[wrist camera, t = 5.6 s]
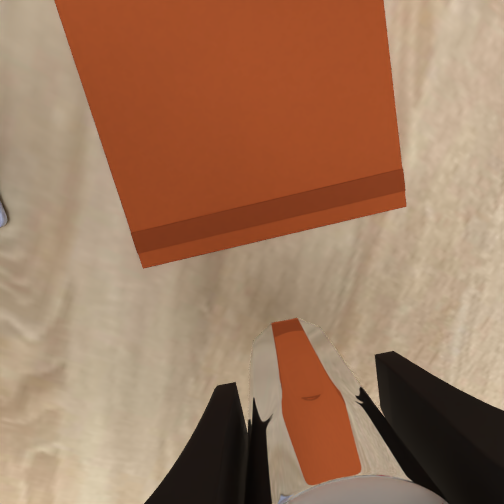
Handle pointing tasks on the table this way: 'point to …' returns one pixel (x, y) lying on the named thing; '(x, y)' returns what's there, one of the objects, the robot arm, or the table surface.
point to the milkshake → (321, 429)
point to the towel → (239, 116)
